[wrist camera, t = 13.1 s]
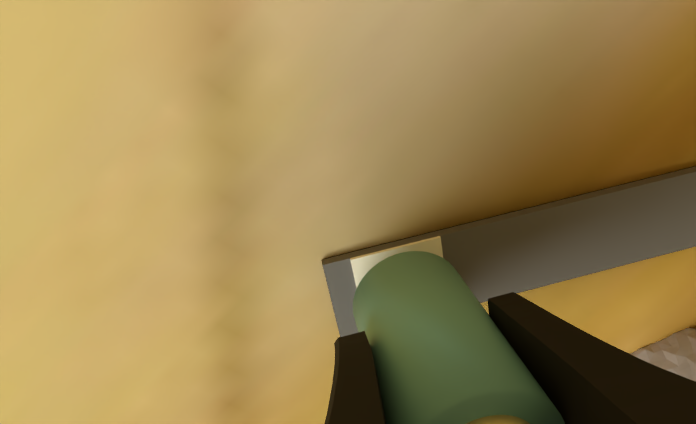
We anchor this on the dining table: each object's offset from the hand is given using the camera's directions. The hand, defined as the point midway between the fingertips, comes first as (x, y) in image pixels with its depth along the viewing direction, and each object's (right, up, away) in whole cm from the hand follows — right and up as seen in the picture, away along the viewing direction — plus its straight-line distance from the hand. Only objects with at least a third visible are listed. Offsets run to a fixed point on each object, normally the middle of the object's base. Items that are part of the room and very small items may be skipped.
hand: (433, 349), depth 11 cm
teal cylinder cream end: (0, +1, +2) cm, 2 cm away
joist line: (+8, +3, +3) cm, 10 cm away
